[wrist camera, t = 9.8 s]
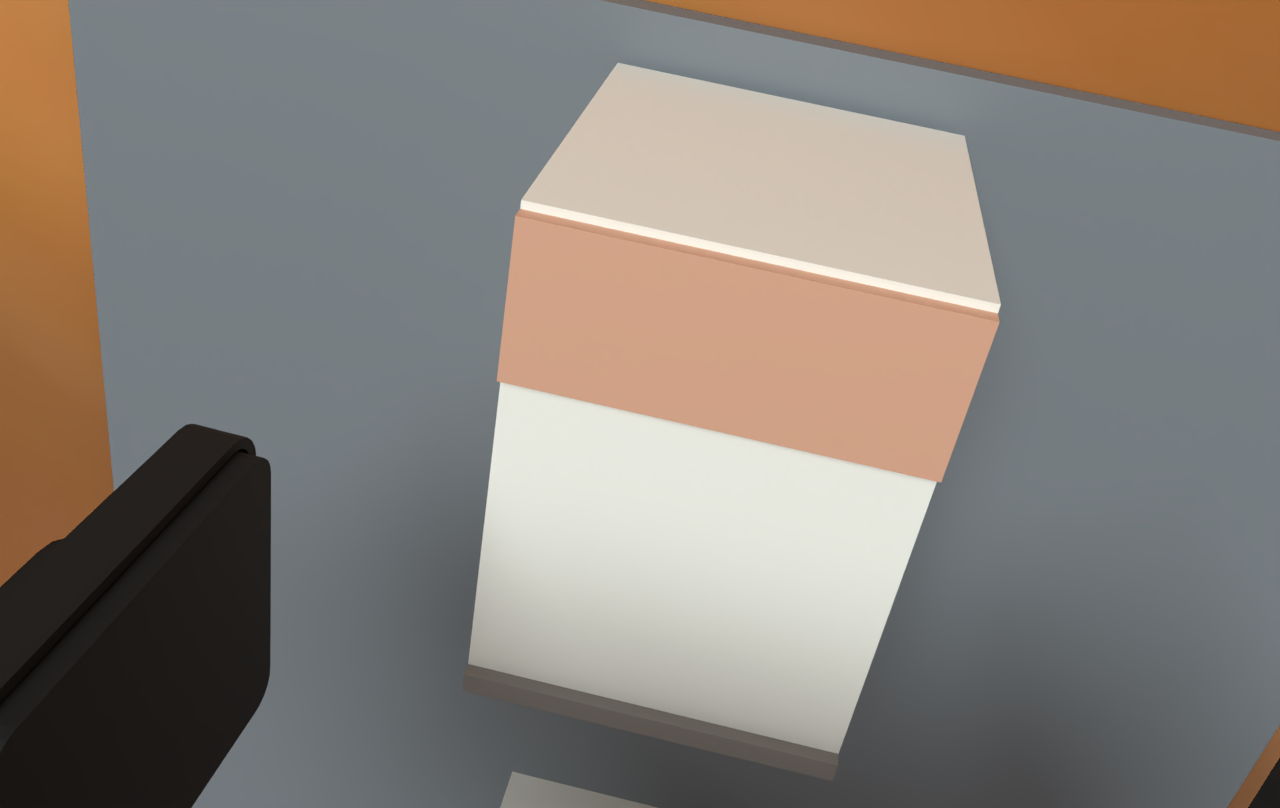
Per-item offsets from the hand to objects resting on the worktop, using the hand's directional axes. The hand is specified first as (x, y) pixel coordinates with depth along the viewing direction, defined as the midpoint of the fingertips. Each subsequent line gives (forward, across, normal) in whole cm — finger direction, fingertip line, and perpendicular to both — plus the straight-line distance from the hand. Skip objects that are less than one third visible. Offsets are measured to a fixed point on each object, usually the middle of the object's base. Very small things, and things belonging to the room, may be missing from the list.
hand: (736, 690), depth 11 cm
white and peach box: (+10, +1, 0) cm, 10 cm away
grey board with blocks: (+10, +1, +12) cm, 16 cm away
